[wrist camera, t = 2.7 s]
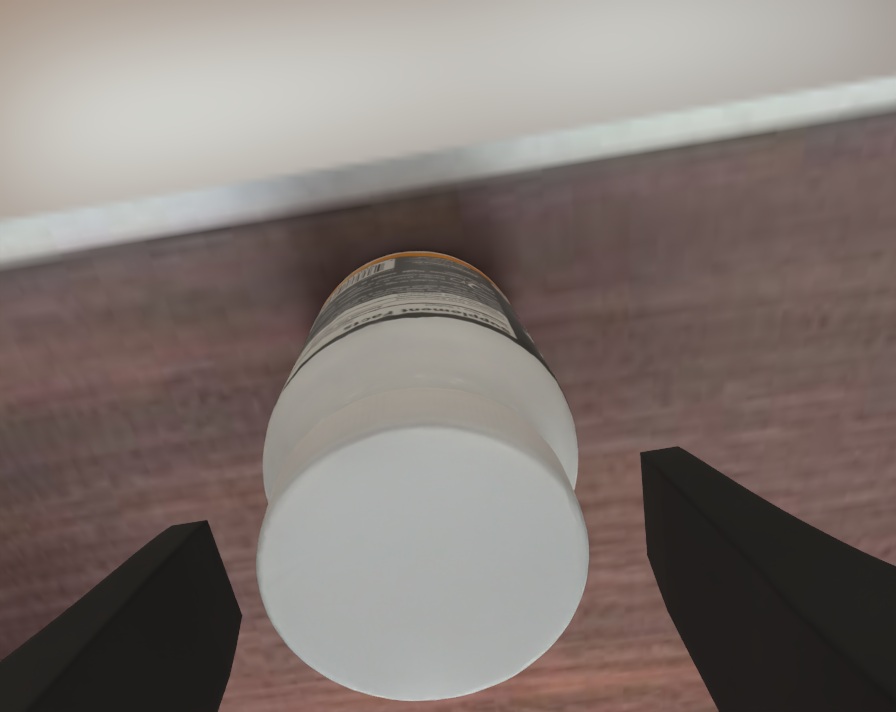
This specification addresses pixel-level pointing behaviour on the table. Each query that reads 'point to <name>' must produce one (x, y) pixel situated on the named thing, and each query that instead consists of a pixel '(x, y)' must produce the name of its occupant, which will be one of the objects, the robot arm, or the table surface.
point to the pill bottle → (420, 488)
